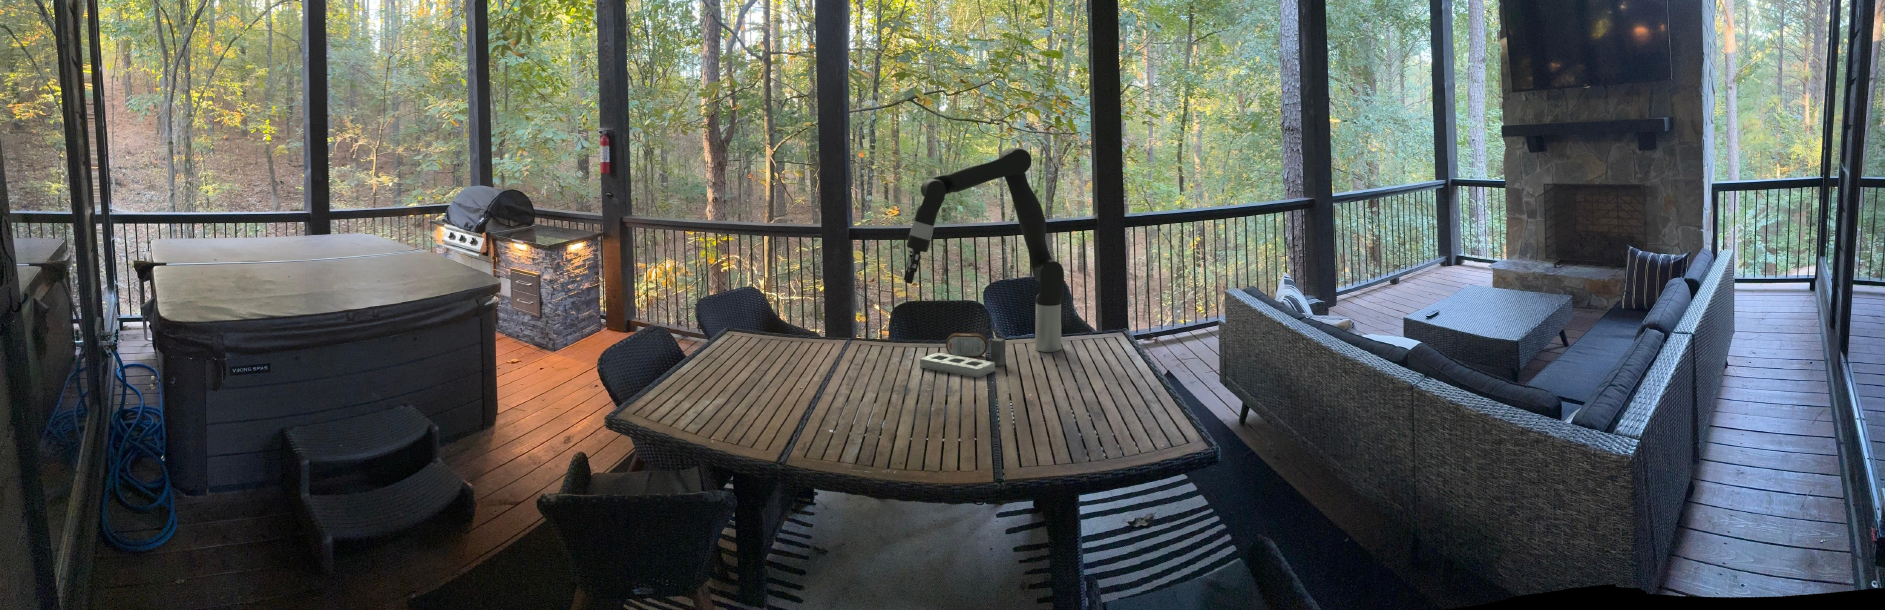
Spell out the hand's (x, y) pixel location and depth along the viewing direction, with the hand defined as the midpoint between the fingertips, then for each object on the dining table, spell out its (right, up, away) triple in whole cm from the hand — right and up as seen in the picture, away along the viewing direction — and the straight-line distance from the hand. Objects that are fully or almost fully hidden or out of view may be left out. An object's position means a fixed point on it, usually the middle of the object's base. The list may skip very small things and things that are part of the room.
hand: (907, 282), depth 310 cm
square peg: (+31, -29, +2) cm, 42 cm away
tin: (+21, -27, +14) cm, 37 cm away
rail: (+17, -30, -2) cm, 34 cm away
